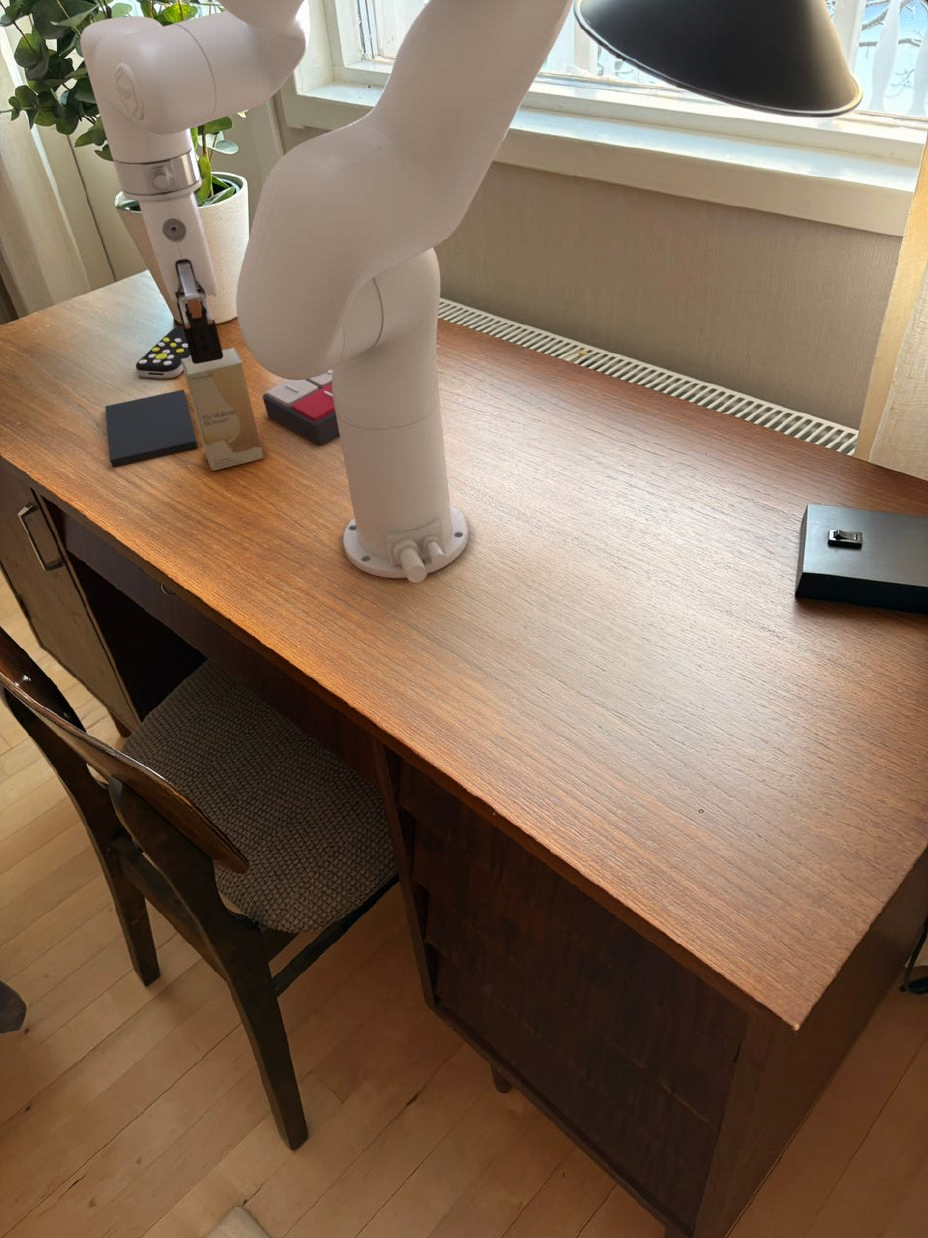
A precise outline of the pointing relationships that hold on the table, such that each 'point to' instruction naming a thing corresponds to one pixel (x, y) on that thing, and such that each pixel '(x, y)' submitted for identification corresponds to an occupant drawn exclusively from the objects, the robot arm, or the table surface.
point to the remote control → (165, 356)
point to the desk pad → (149, 428)
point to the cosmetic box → (223, 410)
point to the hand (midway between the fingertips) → (202, 340)
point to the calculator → (305, 407)
